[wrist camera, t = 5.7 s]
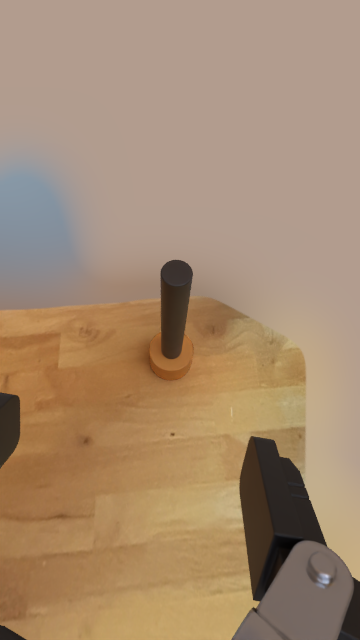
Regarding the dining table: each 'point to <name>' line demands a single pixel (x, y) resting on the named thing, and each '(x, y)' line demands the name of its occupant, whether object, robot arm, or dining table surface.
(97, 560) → the dining table surface
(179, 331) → the plunger
